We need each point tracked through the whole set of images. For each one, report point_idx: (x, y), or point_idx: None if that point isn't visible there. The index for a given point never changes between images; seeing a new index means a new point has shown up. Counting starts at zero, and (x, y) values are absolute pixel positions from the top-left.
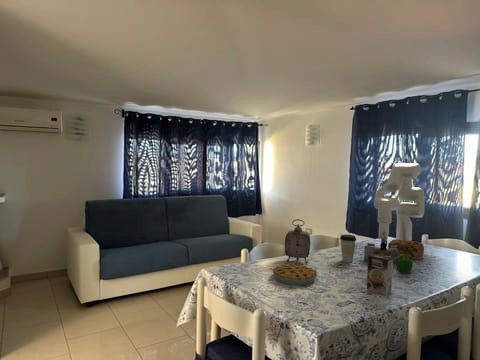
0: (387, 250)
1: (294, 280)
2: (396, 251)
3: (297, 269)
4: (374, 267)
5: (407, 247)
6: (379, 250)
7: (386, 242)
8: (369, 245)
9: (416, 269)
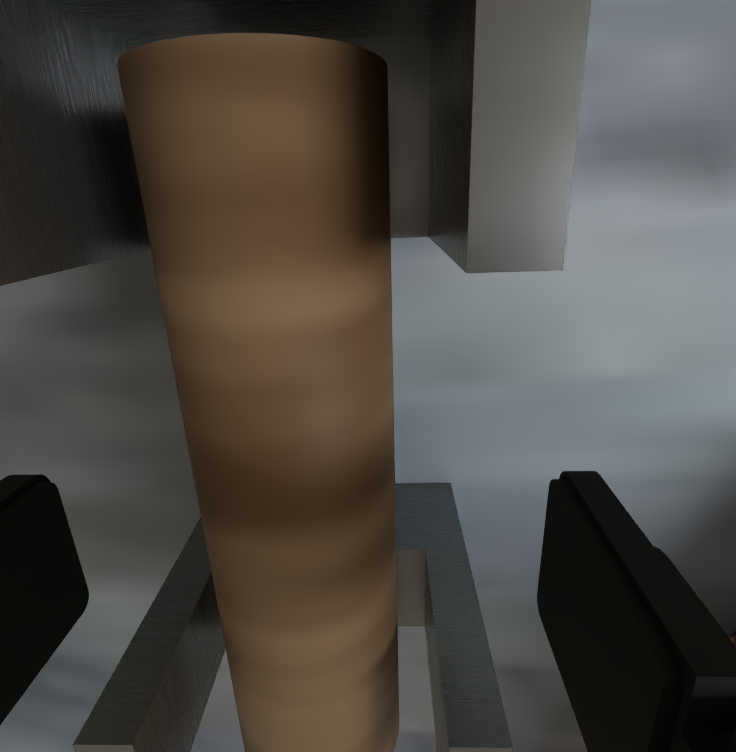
0: (219, 603)
1: None
2: (250, 749)
3: None
4: None
5: None
6: (184, 414)
7: (587, 733)
8: (460, 15)
9: None
